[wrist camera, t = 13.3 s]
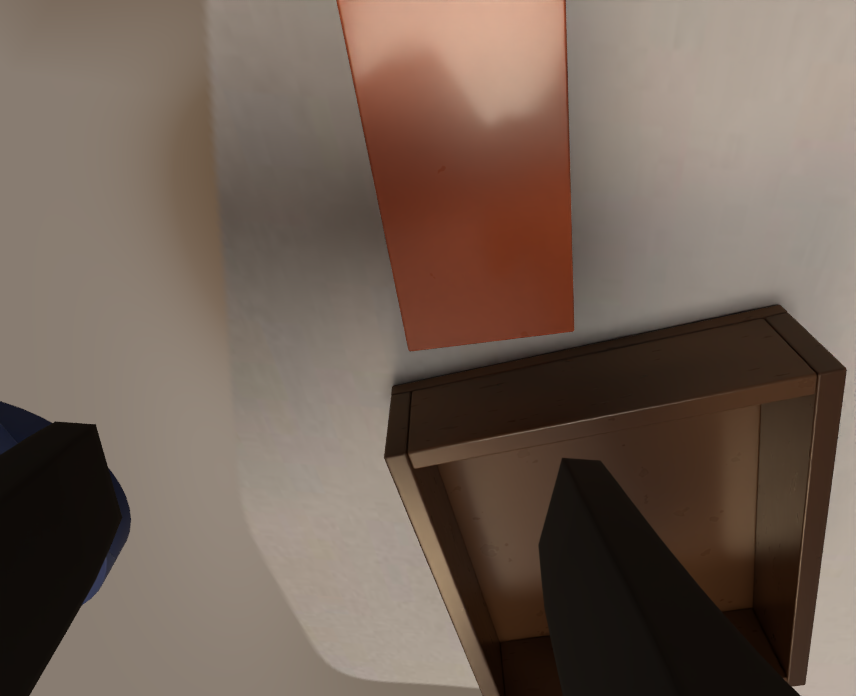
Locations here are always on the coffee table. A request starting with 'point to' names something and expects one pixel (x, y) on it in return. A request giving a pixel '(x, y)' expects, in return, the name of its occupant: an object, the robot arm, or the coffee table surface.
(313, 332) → the coffee table surface
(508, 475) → the tray
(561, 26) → the orange block
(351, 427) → the coffee table surface
